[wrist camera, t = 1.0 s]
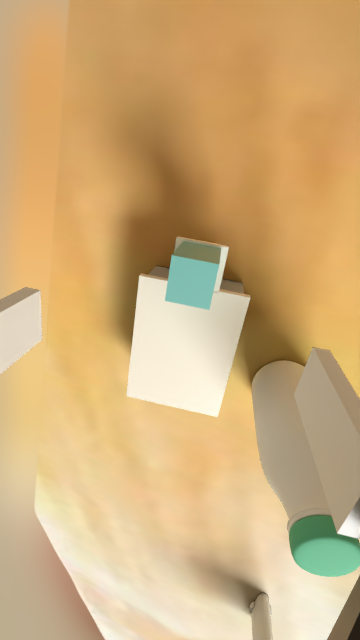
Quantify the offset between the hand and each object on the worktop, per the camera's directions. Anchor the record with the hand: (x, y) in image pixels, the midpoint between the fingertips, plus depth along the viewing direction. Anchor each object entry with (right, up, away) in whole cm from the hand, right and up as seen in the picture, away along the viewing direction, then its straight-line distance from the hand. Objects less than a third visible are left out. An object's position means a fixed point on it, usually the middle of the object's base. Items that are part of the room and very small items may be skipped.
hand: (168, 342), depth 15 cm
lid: (+1, 0, +17) cm, 17 cm away
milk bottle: (+14, -7, +24) cm, 29 cm away
